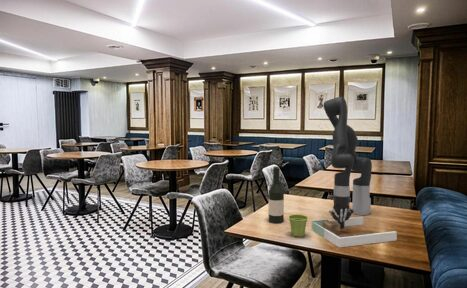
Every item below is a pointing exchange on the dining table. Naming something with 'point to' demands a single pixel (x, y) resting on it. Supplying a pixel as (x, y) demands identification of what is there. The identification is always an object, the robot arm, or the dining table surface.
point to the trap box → (351, 240)
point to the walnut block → (332, 227)
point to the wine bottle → (276, 200)
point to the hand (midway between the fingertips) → (341, 228)
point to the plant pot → (298, 224)
